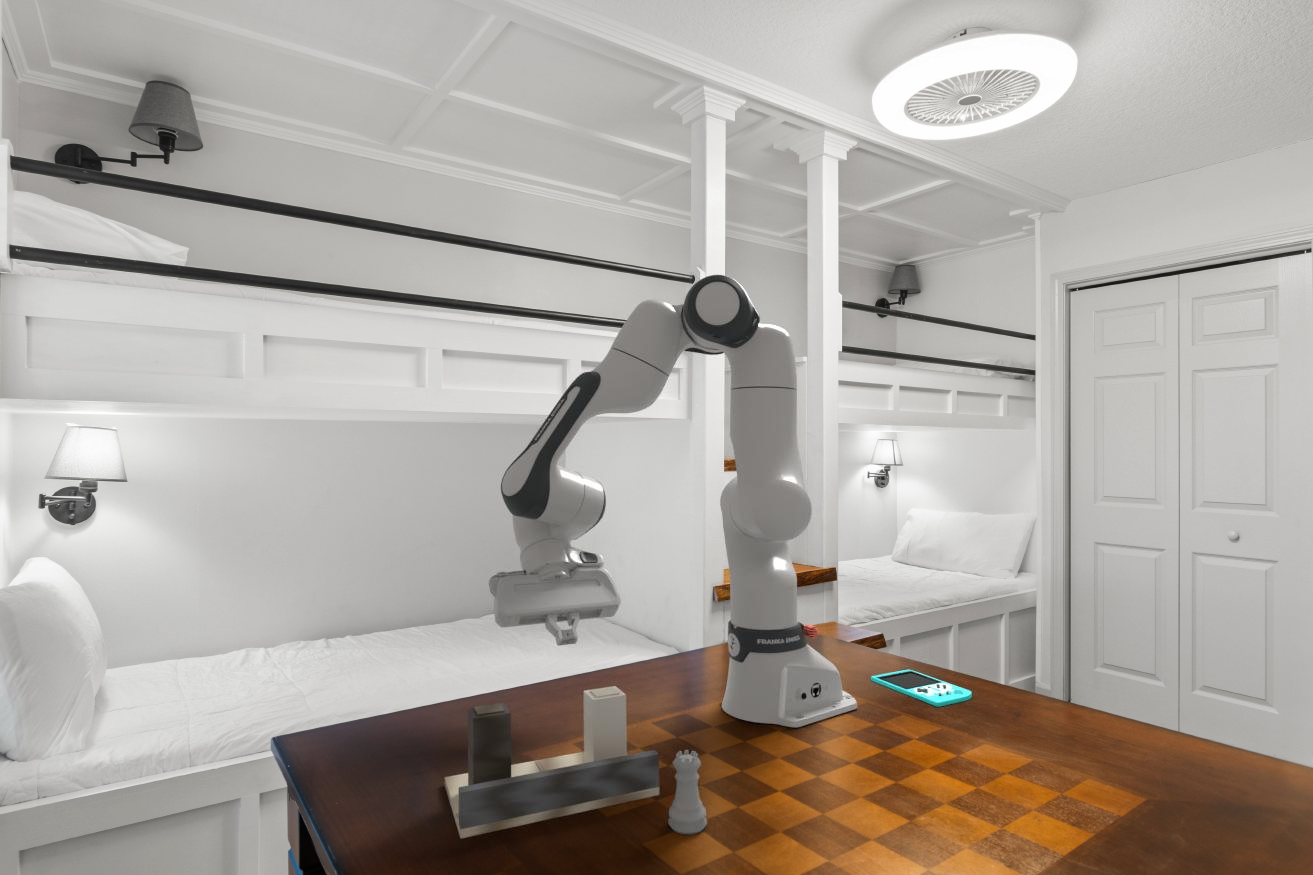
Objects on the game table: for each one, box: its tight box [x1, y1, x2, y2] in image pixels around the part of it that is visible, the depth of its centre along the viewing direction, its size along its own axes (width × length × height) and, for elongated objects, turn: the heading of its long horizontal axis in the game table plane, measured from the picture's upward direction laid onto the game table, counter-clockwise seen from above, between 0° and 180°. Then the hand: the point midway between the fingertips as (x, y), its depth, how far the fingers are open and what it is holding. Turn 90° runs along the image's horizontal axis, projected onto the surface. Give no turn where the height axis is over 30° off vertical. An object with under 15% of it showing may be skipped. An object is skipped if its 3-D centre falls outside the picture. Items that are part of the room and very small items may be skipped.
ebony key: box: [467, 702, 512, 785], centre depth 87 cm, size 4×4×10 cm
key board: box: [444, 749, 660, 839], centre depth 89 cm, size 24×14×5 cm, turn 114°
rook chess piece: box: [667, 749, 708, 836], centre depth 80 cm, size 4×4×8 cm
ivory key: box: [583, 685, 628, 763], centre depth 93 cm, size 4×4×10 cm
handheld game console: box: [870, 669, 973, 708], centre depth 127 cm, size 10×16×1 cm, turn 26°
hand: (567, 642), depth 109 cm, fingers closed
